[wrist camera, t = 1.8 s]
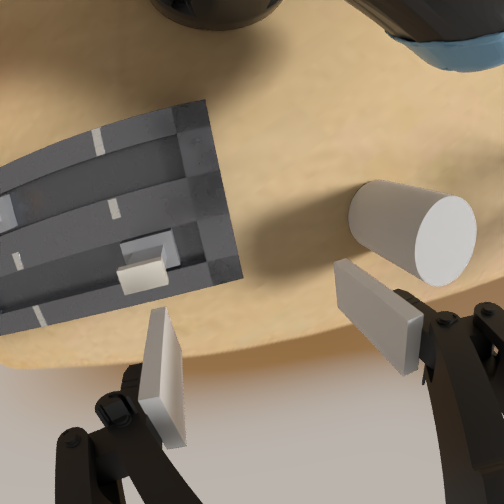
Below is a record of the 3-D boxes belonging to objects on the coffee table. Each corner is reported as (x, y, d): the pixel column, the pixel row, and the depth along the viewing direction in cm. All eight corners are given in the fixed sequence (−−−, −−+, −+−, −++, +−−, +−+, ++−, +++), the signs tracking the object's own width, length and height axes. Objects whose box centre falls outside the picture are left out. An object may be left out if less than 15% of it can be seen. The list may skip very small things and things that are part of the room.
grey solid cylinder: (369, 262, 37) (432, 303, 26) (335, 209, 34) (400, 237, 23) (414, 219, 37) (484, 246, 26) (385, 165, 34) (460, 177, 23)
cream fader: (122, 240, 30) (105, 265, 23) (171, 227, 30) (167, 249, 23) (132, 272, 31) (119, 305, 24) (180, 260, 31) (179, 290, 24)
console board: (-51, 198, 24) (-65, 202, 22) (203, 104, 29) (205, 99, 26) (-5, 327, 30) (-15, 339, 27) (238, 268, 34) (243, 278, 31)
